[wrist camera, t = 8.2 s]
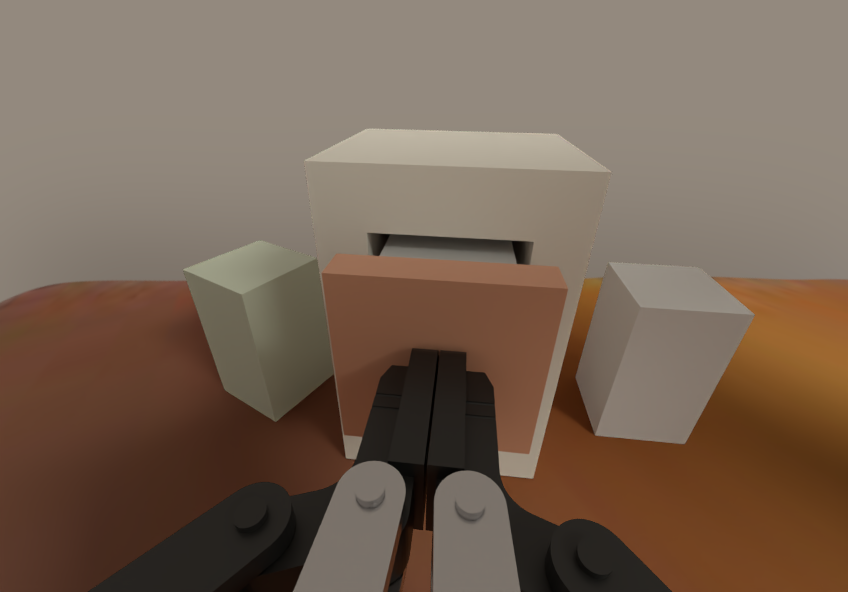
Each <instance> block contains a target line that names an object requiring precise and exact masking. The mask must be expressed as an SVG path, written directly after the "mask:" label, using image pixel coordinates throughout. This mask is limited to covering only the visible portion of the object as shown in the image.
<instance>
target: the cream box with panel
mask: <svg viewBox="0 0 848 592" xmlns="http://www.w3.org/2000/svg"><path fill="white" fill-rule="evenodd" d="M304 167H305V174H306V179H307V187H308V195H309V202H310V208H311V216H312V223H313V230H314V236H315V244H316V251H317V258H318V265H319V272H320V279H321V286H322V293H323V300H324V307H325V314H326V321H327V328H328V335H329V342H330V349H331V356H332V363H333V370H334V377H335V384H336V391H337V398H338V405H339V412H340V419H341V426H342V433H343V440H344V447H345V454H346V458H348V459H356V457H357V454H358V451H359V447H360V444H361V441H362V437H357V436H347V435H344V431H343V424H342V417H341V410H340V402H339V395H338V388H337V381H336V374H335V367H334V359H333V352H332V345H331V338H330V331H329V324H328V317H327V309H326V302H325V295H324V288H323V281H322V274H321V273H322V272H323V270H324V269H325V268H326V266H327V265H328V264H329V262H330V261H331V260H332V258H333V257H334V256H335V255H336V253H337V254H354V255H371V256H380V254H381V252H382V250H383V248H384V246H385V244H386V242H387V240H388V238H389V236H390V234H401V235H419V236H438V237H457V238H475V239H494V240H511V241H512V245H513V250H514V254H515V258H516V263H517V264H523V265H540V266H557V267H559V269H560V271H561V274H562V276H563V278H564V280H565V283H566V285H567V287H568V292H567V296H566V300H565V305H564V309H563V313H562V317H561V321H560V326H559V330H558V334H557V338H556V343H555V347H554V351H553V355H552V360H551V364H550V368H549V372H548V377H547V381H546V385H545V389H544V393H543V398H542V402H541V406H540V410H539V415H538V419H537V423H536V427H535V432H534V436H533V440H532V444H531V449H530V453H529V454H521V453H512V452H502V451H498V454H499V468H500V475H503V476H513V477H522V478H531V479H533V477H534V473H535V469H536V465H537V461H538V457H539V453H540V449H541V445H542V442H543V438H544V434H545V430H546V426H547V422H548V418H549V414H550V410H551V407H552V403H553V399H554V395H555V391H556V387H557V383H558V379H559V375H560V372H561V368H562V364H563V360H564V356H565V352H566V348H567V344H568V340H569V336H570V333H571V329H572V325H573V321H574V317H575V313H576V309H577V305H578V301H579V298H580V294H581V290H582V286H583V282H584V278H585V274H586V270H587V266H588V263H589V259H590V255H591V251H592V247H593V243H594V239H595V235H596V231H597V227H598V224H599V219H600V215H601V212H602V208H603V204H604V200H605V196H606V193H607V188H608V185H609V180H610V177H611V171H609V170H608V169H607V168H605V167H604V166H602V165H601V164H599V163H598V162H597V161H595V160H594V159H592V158H591V157H589V156H588V155H587V154H585V153H584V152H582V151H581V150H580V149H578V148H577V147H575V146H573V145H572V144H571V143H570V142H568V141H567V140H565V139H564V138H562V137H561V136H560V135H558V134H540V133H504V132H503V133H501V132H468V131H433V130H398V129H366V130H364V131H362V132H360V133H358V134H356V135H354V136H352V137H350V138H348V139H346V140H344V141H342V142H340V143H338V144H336V145H334V146H332V147H330V148H328V149H326V150H324V151H322V152H320V153H318V154H317V155H314V156H313V157H310V158H309V159H306V160H305V161H304Z"/></svg>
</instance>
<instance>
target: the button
mask: <svg viewBox="0 0 848 592" xmlns="http://www.w3.org/2000/svg"><path fill="white" fill-rule="evenodd" d="M321 274H322V281H323V288H324V295H325V302H326V309H327V317H328V324H329V331H330V338H331V345H332V352H333V359H334V367H335V374H336V381H337V388H338V395H339V402H340V410H341V417H342V424H343V431H344V435H347V436H357V437H363V434H364V431H365V427H366V424H367V421H368V417H369V414H370V411H371V409H372V404H373V401H374V397H375V396H376V391H377V387H378V384H379V381H380V377H381V376H382V375H383V374H384V373H385V372H386V371H387V370H388V369H389V368H390V367H391V365H397V366H408V365H409V360H410V355H411V351H412V348H419V349H432V350H438V367H439V358H440V350H446V351H459V352H466V354H467V356H466V371H472V372H484V373H485V374H486V375H487V377H488V378H489V380H490V382H491V383H492V385H493V387H494V398H495V412H496V426H497V440H498V451H502V452H512V453H521V454H529V453H530V449H531V444H532V440H533V436H534V432H535V427H536V423H537V419H538V415H539V410H540V406H541V402H542V398H543V393H544V389H545V385H546V381H547V377H548V372H549V368H550V364H551V360H552V355H553V351H554V347H555V343H556V338H557V334H558V330H559V326H560V321H561V317H562V313H563V309H564V305H565V300H566V296H567V292H568V287H567V285H566V283H565V280H564V278H563V276H562V274H561V271H560V269H559V267H557V266H540V265H523V264H517V263H516V258H515V254H514V250H513V245H512V241H511V240H494V239H475V238H457V237H438V236H419V235H401V234H390V236H389V238H388V240H387V242H386V244H385V246H384V248H383V250H382V252H381V254H380V256H371V255H354V254H337V253H336V255H335V256H334V257H333V258H332V260H331V261H330V262H329V264H328V265H327V266H326V268H325V269H324V270H323V272H322V273H321Z"/></svg>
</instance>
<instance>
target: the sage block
mask: <svg viewBox="0 0 848 592" xmlns="http://www.w3.org/2000/svg"><path fill="white" fill-rule="evenodd" d="M183 272H184V275H185V278H186V280H187V283H188V286H189V289H190V292H191V295H192V298H193V301H194V304H195V306H196V309H197V312H198V315H199V318H200V321H201V324H202V327H203V329H204V332H205V335H206V338H207V341H208V344H209V347H210V350H211V353H212V355H213V358H214V361H215V364H216V367H217V370H218V373H219V376H220V379H221V381H222V384H223V387H224V390H225V391H227V392H228V393H230V394H232V395H233V396H235V397H236V398H238V399H240V400H241V401H243V402H244V403H246V404H248V405H249V406H251V407H253V408H254V409H256V410H257V411H259V412H261V413H262V414H264V415H265V416H267V417H269V418H270V419H272V420H273V421H275V422H276V421H278V420H279V419H280V418H281V417H282V416H284V415H285V414H286V413H287V412H288V411H290V410H291V409H292V408H293V407H294V406H296V405H297V404H298V403H299V402H300V401H302V400H303V399H304V398H305V397H307V396H308V395H309V394H310V393H311V392H313V391H314V390H315V389H316V388H317V387H319V386H320V385H321V384H322V383H323V382H325V381H326V380H327V379H328V378H329V377H331V376H332V375H333V374H334V372H333V365H332V358H331V351H330V344H329V337H328V330H327V323H326V316H325V309H324V302H323V295H322V288H321V281H320V274H319V267H318V260H317V258H315V257H312V256H309V255H305V254H302V253H299V252H296V251H293V250H290V249H287V248H284V247H280V246H277V245H274V244H271V243H268V242H265V241H261V240H260V241H257V242H254V243H252V244H249V245H246V246H244V247H241V248H238V249H236V250H233V251H230V252H228V253H225V254H223V255H220V256H217V257H214V258H212V259H209V260H206V261H204V262H201V263H199V264H196V265H193V266H191V267H188V268H185V269H183Z"/></svg>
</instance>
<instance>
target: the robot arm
mask: <svg viewBox="0 0 848 592" xmlns="http://www.w3.org/2000/svg"><path fill="white" fill-rule="evenodd" d="M466 356H467V354H466V352H459V351H446V350H440V358H439V367H438V350H432V349H419V348H412V351H411V355H410V360H409V365H408V366H397V365H391V367H390V368H389V369H388V370H387V371H386V372H385V373H384V374H383V375H382V376H381V377H380V381H379V384H378V387H377V391H376V396H375V397H374V401H373V404H372V409H371V411H370V414H369V417H368V421H367V424H366V427H365V431H364V434H363V437H362V441H361V444H360V447H359V451H358V454H357V457H356V460H355V463H354V464H353V466H352V468H351V469H349V470H348V471H347V472H346V473H345V474H344V475H343V476H342V477H341V479H340V480H339V481H338V482H337V483H335V484H333V485H331V486H329V487H327V488H324V489H321V490H317V491H313V492H308V493H303V494H299V495H294V496H289V495H288V493H287V491H286V490H285V489H284V488H283V487H281V486H280V485H277V484H275V483H270V482H260V483H255V484H251V485H248V486H246V487H244V488H242V489H240V490H238V491H237V492H235V493H234V494H232V495H231V496H229V497H228V498H226V499H225V500H223V501H222V502H220V503H219V504H217V505H216V506H214V507H213V508H211V509H210V510H208V511H207V512H205V513H204V514H202V515H201V516H200V517H198V518H197V519H195V520H194V521H192V522H191V523H189V524H188V525H186V526H185V527H183V528H182V529H180V530H179V531H177V532H176V533H174V534H173V535H171V536H170V537H168V538H167V539H165V540H164V541H162V542H161V543H159V544H158V545H156V546H155V547H154V548H152V549H151V550H149V551H148V552H146V553H145V554H143V555H142V556H140V557H139V558H137V559H136V560H134V561H133V562H131V563H130V564H128V565H127V566H125V567H124V568H122V569H121V570H119V571H118V572H116V573H115V574H113V575H112V576H110V577H109V578H108V579H106V580H105V581H103V582H102V583H100V584H99V585H97V586H96V587H94V588H93V589H91V590H90V591H88V592H402V590H403V585H404V580H405V575H406V570H407V563H408V561H409V556H410V549H411V541H412V533H413V529H419V530H423V523H424V513H425V504H426V530H429V531H433V536H432V560H431V592H672V591H671V590H670V589H669V588H668V587H667V586H666V585H665V584H664V583H663V582H662V581H661V580H660V579H659V578H658V577H657V576H656V575H655V574H654V573H653V572H652V571H651V570H650V569H649V568H648V567H647V566H646V565H645V564H644V563H643V562H642V561H641V560H640V559H639V558H638V557H637V556H636V555H635V554H634V553H633V552H632V551H631V550H630V549H629V548H628V547H627V546H626V545H625V544H624V543H623V542H622V541H621V540H620V539H619V538H618V537H617V536H616V535H614V534H613V533H612V532H611V531H610V530H608V529H607V528H605V527H603V526H602V525H600V524H598V523H595V522H593V521H589V520H585V519H573V520H569V521H566V522H564V523H562V524H561V525H560V526H557V525H555V524H553V523H551V522H548V521H546V520H544V519H542V518H539V517H537V516H535V515H533V514H531V513H529V512H527V511H525V510H524V509H523V508H521V507H520V506H519V505H517V504H516V503H515V502H514V501H513V500H512V498H511V497H510V496H509V495H508V493H507V492H506V490H505V488H504V486H503V484H502V481H501V477H500V468H499V454H498V440H497V426H496V412H495V398H494V387H493V385H492V383H491V382H490V380H489V378H488V377H487V375H486V374H485V373H484V372H472V371H466ZM426 495H427V501H426Z"/></svg>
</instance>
